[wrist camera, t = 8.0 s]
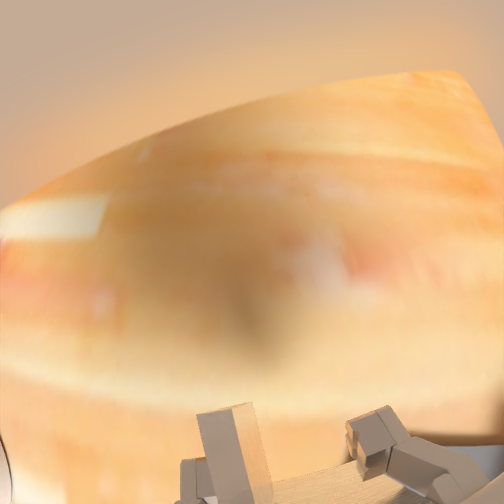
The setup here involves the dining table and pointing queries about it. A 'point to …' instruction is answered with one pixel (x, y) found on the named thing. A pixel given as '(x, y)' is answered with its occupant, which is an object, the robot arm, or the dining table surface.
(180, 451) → the dining table surface
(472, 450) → the arena plate
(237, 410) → the bracket
